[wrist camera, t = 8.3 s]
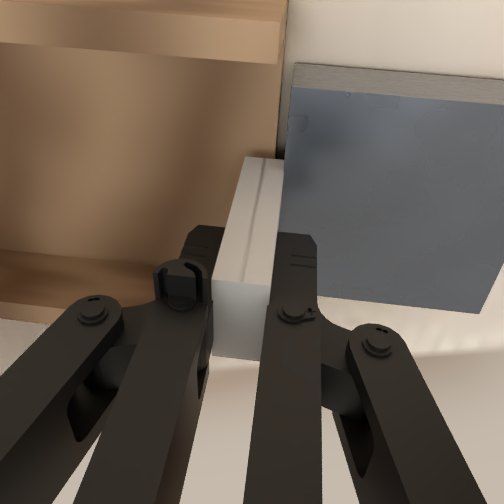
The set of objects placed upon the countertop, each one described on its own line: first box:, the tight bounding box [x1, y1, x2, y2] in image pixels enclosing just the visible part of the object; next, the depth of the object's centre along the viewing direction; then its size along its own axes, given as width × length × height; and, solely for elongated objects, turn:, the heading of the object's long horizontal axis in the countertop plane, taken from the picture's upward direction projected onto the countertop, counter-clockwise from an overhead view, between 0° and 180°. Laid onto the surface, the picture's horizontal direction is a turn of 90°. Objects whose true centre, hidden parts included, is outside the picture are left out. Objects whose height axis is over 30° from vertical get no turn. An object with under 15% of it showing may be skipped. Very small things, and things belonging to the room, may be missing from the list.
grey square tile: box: [278, 63, 504, 314], centre depth 17 cm, size 8×8×2 cm
